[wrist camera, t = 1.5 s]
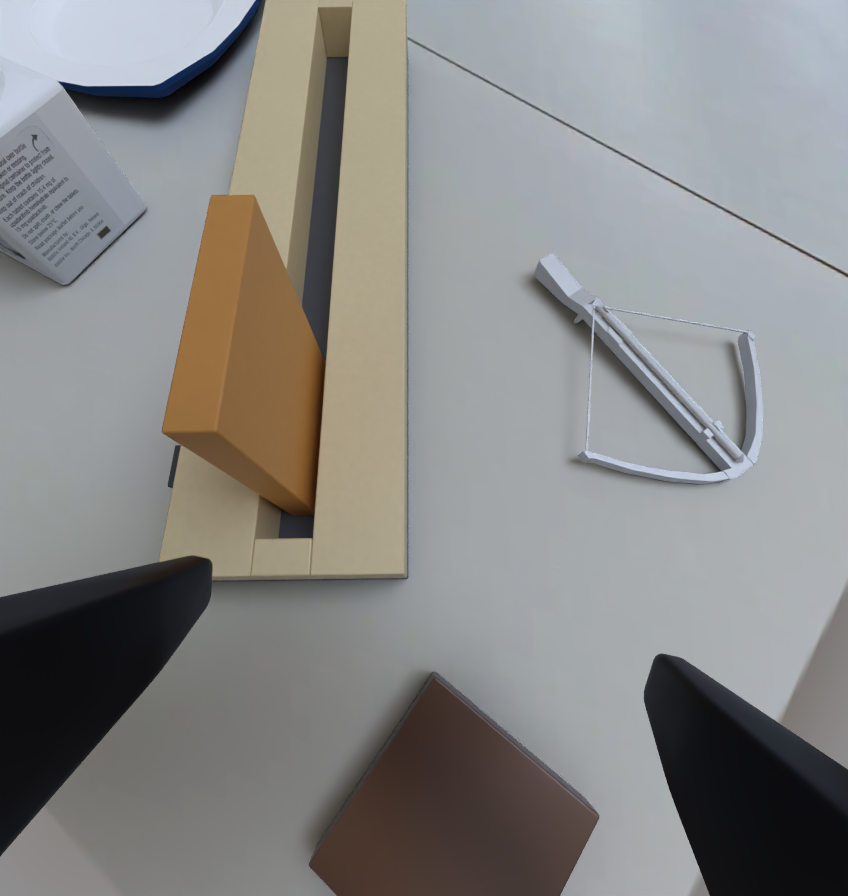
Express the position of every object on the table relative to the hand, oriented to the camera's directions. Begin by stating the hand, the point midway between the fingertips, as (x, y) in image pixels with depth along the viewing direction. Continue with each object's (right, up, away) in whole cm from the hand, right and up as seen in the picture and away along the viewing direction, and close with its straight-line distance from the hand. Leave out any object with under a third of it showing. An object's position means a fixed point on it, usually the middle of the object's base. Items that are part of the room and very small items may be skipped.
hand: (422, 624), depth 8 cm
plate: (-24, +39, +28) cm, 53 cm away
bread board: (+1, -12, +9) cm, 15 cm away
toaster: (-6, +16, +19) cm, 26 cm away
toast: (-6, +4, +14) cm, 15 cm away
